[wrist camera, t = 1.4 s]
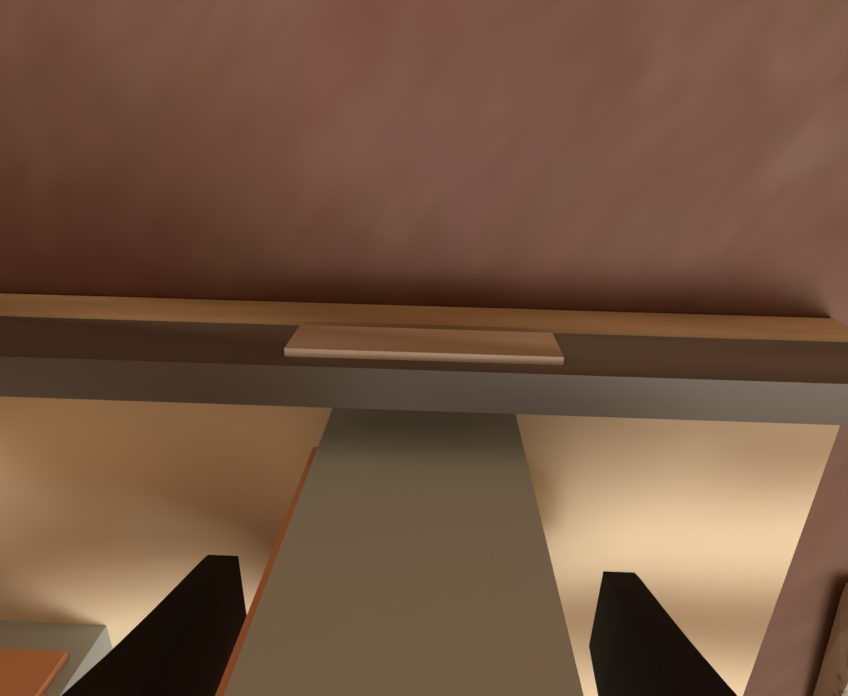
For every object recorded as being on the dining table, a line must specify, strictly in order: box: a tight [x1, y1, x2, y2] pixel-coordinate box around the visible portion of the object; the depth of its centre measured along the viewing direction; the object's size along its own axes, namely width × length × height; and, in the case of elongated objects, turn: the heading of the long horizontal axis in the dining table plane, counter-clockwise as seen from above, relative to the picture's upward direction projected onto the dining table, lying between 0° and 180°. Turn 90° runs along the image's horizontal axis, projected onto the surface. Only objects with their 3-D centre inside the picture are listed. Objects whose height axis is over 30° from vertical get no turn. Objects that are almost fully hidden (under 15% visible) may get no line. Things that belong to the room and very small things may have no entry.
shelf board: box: [0, 293, 848, 696], centre depth 14 cm, size 14×24×3 cm, turn 89°
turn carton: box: [215, 408, 584, 696], centre depth 10 cm, size 4×6×7 cm
